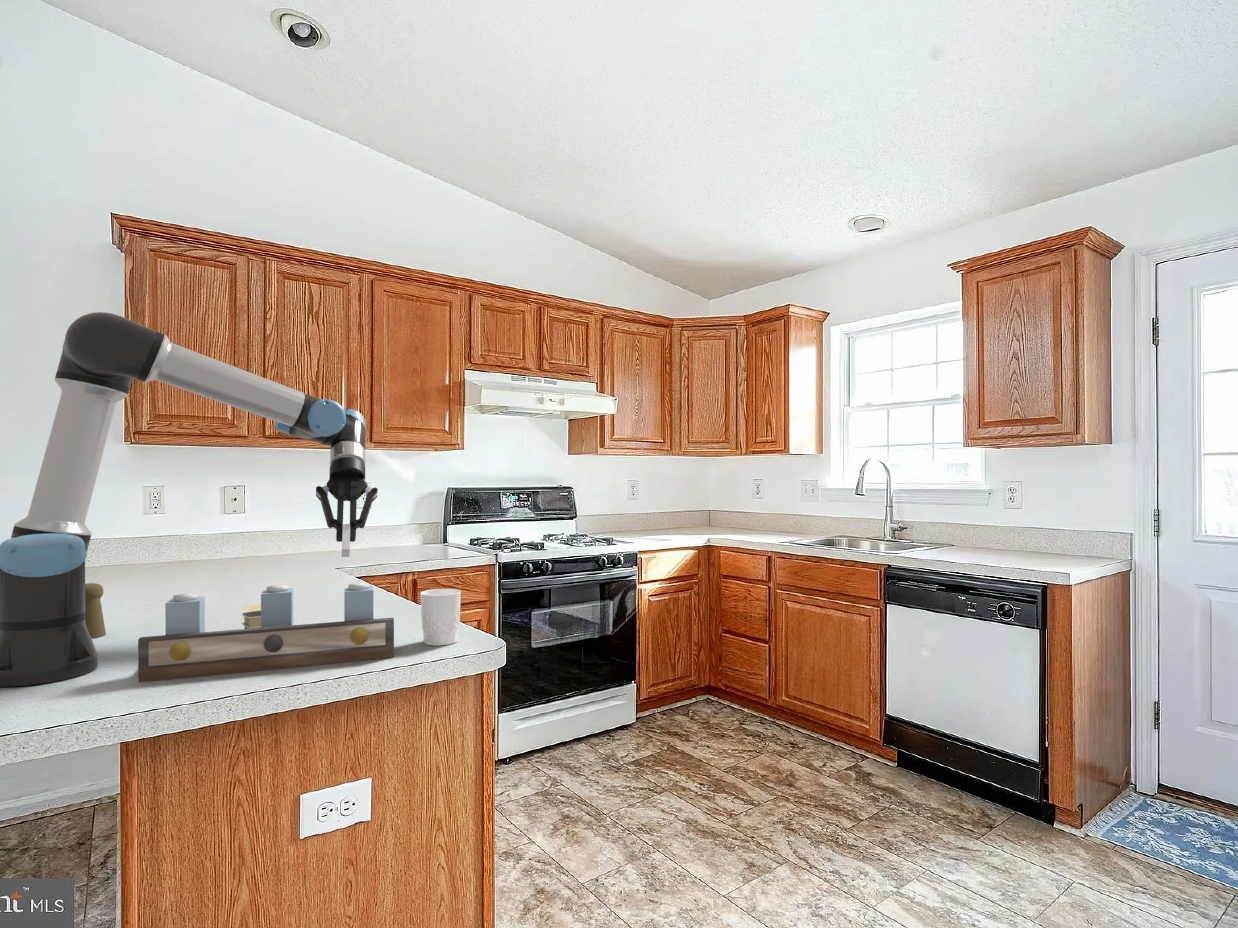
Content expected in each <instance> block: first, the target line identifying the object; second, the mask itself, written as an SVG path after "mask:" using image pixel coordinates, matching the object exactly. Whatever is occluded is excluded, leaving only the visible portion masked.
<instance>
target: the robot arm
mask: <svg viewBox="0 0 1238 928" xmlns="http://www.w3.org/2000/svg"><path fill="white" fill-rule="evenodd" d="M133 379H134V380H137V381H140V382H143V383H149V382H152V381H156V382H160V383H162V384H165V385H168V386H172V387H175V388H177V389H181V390H184V391H187V392H190V393H192V394H195V395H197V396H201V397H204V398H207V399H209V400H212V401H216V402H218V403H222V404H224V405H228V406H230V407H233V408H236V409H239V410H242V411H245V412H247V413H250V414H253V415H257V416H259V417H263V418H265V419H268V420H270V421H271V420H272V421H274V427H275V429H276V430H277V432H281V433H283V434H286V435H288V437H289V436H293V437H296V438H300V439H304V440H306V441H311V442H314V443H318V444H320V445H323V446H327V447H330V451H329V453H330V456H329V474H328V475H329V477H328V478H329V479H328V481H326V484H325V485H324V486H321V485H317V486H315V497H316V498H317V499H318V500H319V502H320V503H321V507H322V512H323V514H324V518H325V519H324V520H325V522H326V527H327V528H329V529H332V528H334V529H335V530H336V533H335V534H336V535H335V540H336V542H339V543H340V542H341V558H350V552H351V549H350V548H351V543H352V542H353V543H354V542H355V541H356V539H357V530H358V529H364V527H365V526H366V523H367V520H368V517H369V513H370V511H371V507H372V504H373V502H374V501H375V500H376V498H378V493H379V492H378V490H379V489H378V488H377V487H375V486H374V487H370V486H368V485H369V484H368V482H367V481H366V435H367V428H366V420H365V417H364V416H363V414H362V413H360V412H359V411H358V410H356V409H353V408H349V409H346V408H344V407H343V405H341V404H340V403H339V402H337V401H335V400H332V399H328V398H327V399H326V398H325V399H324V398H322V399H321V398H318V397H315V396H313V395H310V394H307V393H305V392H302V391H300V390H297V389H295V388H292V387H289V386H286V385H284V384H281V383H278V382H276V381H273V380H271V379H269V378H265V377H262V376H259V375H257V374H255V373H252V372H249V371H247V370H244V369H241V368H240V367H236V366H233V365H231V364H229V363H225V362H223V361H220V360H218V359H216V358H212V357H210V356H208V355H204V354H202V353H199V352H196V351H194V350H192V349H189V348H186V347H184V346H180V345H179V344H175V343H173V342H171V341H170V339H169V337H168V336H167V334H165V333H162V332H159V331H157V330H154V329H152V328H149V327H147V326H145V325H143V324H140V323H138V322H135V321H133V320H130V319H128V318H126V317H124V316H121V315H118V314H115V313H111V312H105V311H102V312H101V311H100V312H99V311H97V312H96V311H95V312H91V313H87V314H83V315H81V316H80V317H78V318H76V319H75V320H74V321H73V322H72V323H71V324H70V325H69V326H68V328H67V331H66V333H65V337H64V342H63V345H62V352H61V354H60V359H59V363H58V366H57V370H56V373H55V376H54V382H55V383H56V384H57V386H58V387H59V388H60V389H61V393H60V397H59V401H58V404H57V408H56V411H55V416H54V419H53V423H52V426H51V429H50V434H49V437H48V440H47V443H46V449H45V452H44V455H43V459H42V463H41V467H40V468H39V469H40V470H39V474H38V477H37V481H36V484H35V488H34V492H33V495H32V498H31V503H30V506H29V510H28V513H27V515H26V517H24V518H22V519H21V520H19V521H16V523H14V524H13V525H14V526H13V527H12V531H11V534H10V538H8V539H5V540H4V541H2V542H0V687H1V688H2V687H5V688H6V687H23V686H25V687H26V686H33V685H40V684H46V683H52V682H59V681H63V680H68V679H71V678H75V677H78V676H83V675H85V674H87V673H91V672H92V671H94V670H96V669H97V668H98V666H99V655H98V654H99V653H98V652H97V651H98V650H97V649H96V646H95V644H94V642H93V640H92V639H91V637H90V634H89V632H88V629H87V627H86V624H85V584H86V559H87V554H88V550H89V546H90V542H91V537H92V534H93V533H92V532H91V531H90V529H89V528H88V527H87V525H86V523H85V522H86V519H87V515H88V513H89V512H88V511H89V509H90V504H91V500H92V497H93V492H94V488H95V486H96V481H97V477H98V473H99V470H100V466H101V463H102V458H103V455H104V451H105V447H106V443H107V440H108V436H109V432H110V428H111V424H112V422H113V421H112V420H113V417H114V413H115V410H116V406H117V405H116V404H118V402H120V401H122V400H124V399H126V398H127V397H129V393H130V388H131V384H132V383H133ZM329 493H330V494H331V495H332V497H334V499H336V501H337V506H336V507H337V509H336V510H337V511H336V518H334V514H333V511H332V508H331V504H330V500H329V497H328V496H329ZM364 494H365V500H364V504H363V506H362V509H361V511H360V516H359V518H358V519H357V500H359V499H360V498H361V497H362V496H363V495H364ZM344 502H349V523H344Z"/></svg>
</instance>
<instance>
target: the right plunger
mask: <svg viewBox="0 0 1238 928" xmlns="http://www.w3.org/2000/svg"><path fill="white" fill-rule="evenodd" d="M343 592H344V595H343V597H344V599H343V601H344V603H343V604H344V605H343V606H344V611H343V614H344V615H343V617H344V620H343V621H354V620H367V619H375V618H374V587H373V585H370V584H369V583H368V582H366V583H365V582H356V583H350V584H348V587H344V588H343Z"/></svg>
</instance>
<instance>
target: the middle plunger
mask: <svg viewBox="0 0 1238 928" xmlns="http://www.w3.org/2000/svg"><path fill="white" fill-rule="evenodd" d="M260 605H261V628H265V627H278V626H290V625H294V588H293V587H289V585H288V584H276V585H269V586H267V587H266V589H263V590H262V592H261V593H260Z"/></svg>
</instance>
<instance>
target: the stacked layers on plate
mask: <svg viewBox="0 0 1238 928" xmlns="http://www.w3.org/2000/svg"><path fill="white" fill-rule="evenodd" d="M242 609H243V610H245V611H247V612H243V613H242V614H241V616H242V617H243V620H244V621H243V622H242V626H243V629H252V628H261V604H255V605H246V606H243V607H242Z"/></svg>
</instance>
